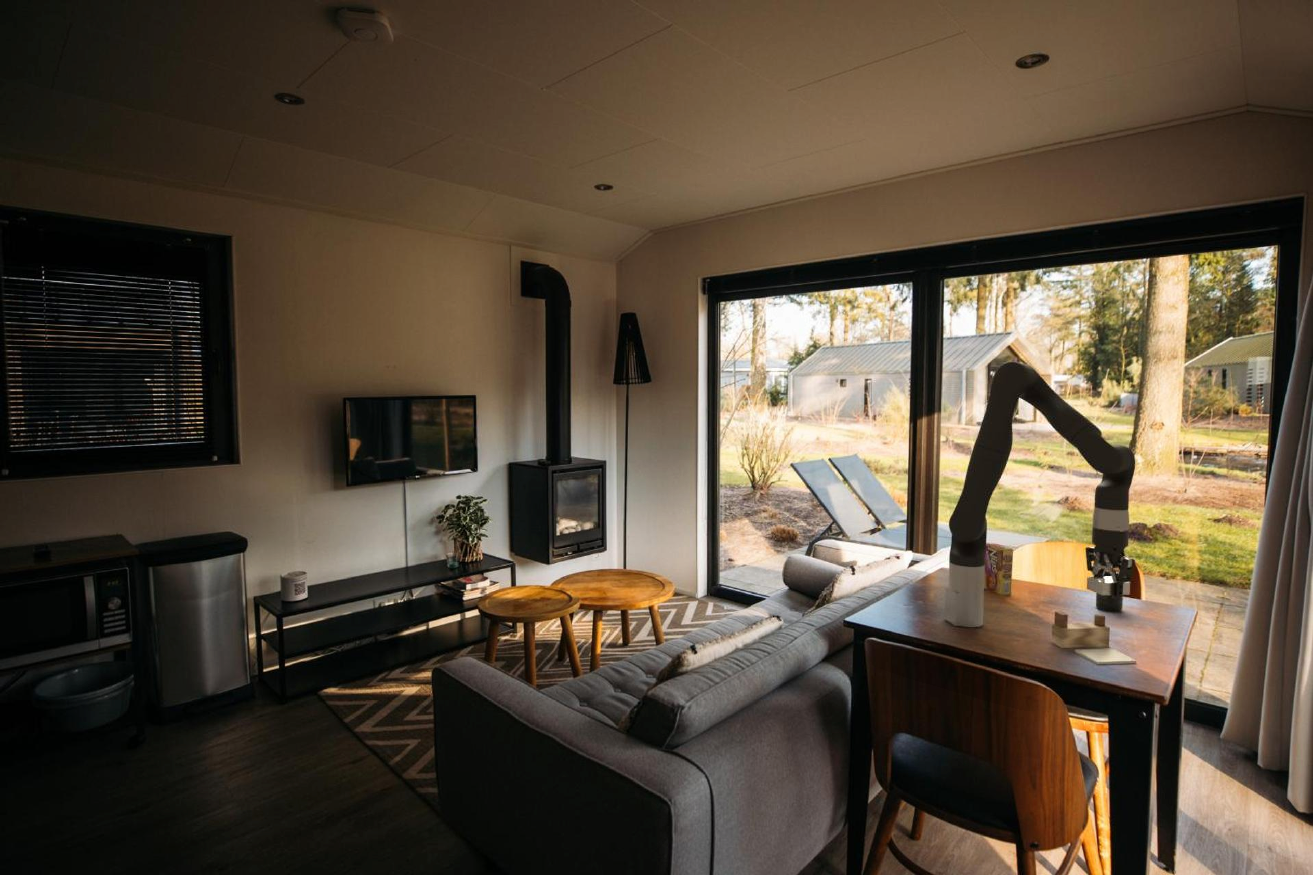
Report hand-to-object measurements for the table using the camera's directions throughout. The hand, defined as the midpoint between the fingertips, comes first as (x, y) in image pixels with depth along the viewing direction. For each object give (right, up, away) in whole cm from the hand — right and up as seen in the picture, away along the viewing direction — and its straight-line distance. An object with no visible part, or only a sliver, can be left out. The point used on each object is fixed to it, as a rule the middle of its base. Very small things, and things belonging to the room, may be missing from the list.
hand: (1107, 593), depth 172 cm
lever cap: (0, +1, 0) cm, 1 cm away
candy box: (+1, -12, +58) cm, 60 cm away
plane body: (-1, -15, +10) cm, 18 cm away
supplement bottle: (+26, -14, +39) cm, 49 cm away
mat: (0, -16, +1) cm, 16 cm away
